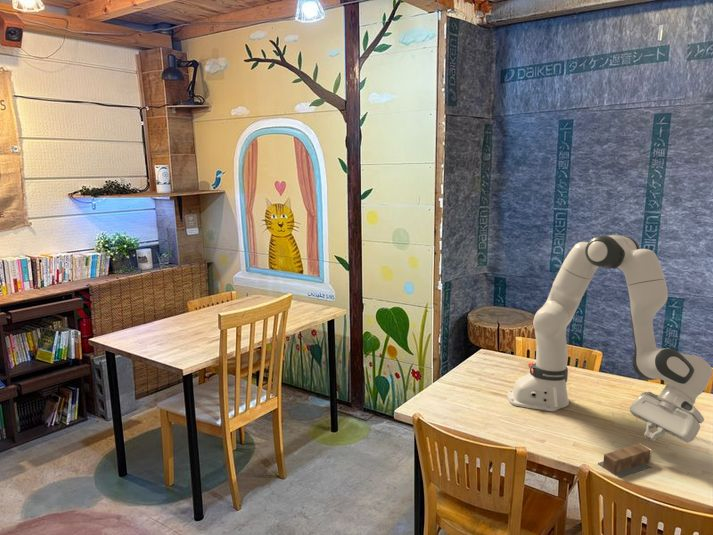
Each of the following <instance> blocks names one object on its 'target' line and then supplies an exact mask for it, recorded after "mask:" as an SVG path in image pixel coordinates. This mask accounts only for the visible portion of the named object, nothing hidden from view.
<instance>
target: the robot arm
mask: <svg viewBox="0 0 713 535" xmlns="http://www.w3.org/2000/svg"><path fill="white" fill-rule="evenodd" d="M661 265H662V264H661V263H660V260H659V258H658V256H657V254H656V253H655V251H653V250H651V249H648V248H641V247H640V245H639V243H638V242H637V241H636V240H635V239H633V238H632V237H630V236H627V235H626V236H625V235H619V234H611V235H598V236H595V237H593V238H592V239H590V240H589V241H580V242H577V243H576V244H575V245H574V246H573V247H571V250H570V251H569V253H568V254H567V256H566V257H565V259H564V260H563V263H562V264H561V266H560V268H559V270H558V271H557V274H556V276H555V278H554V280H553V282H552V287H551V288H550V291H549V294H548V296H547V299H546V302H544V304H543V305H542V306H541V307H540V308H539V309H538V310H537V311H536V312H535V315H534V317H533V322H532V324H533V325H532V326H533V328H534V334H535V342H536V348H535V349H536V355H535V363H534V362H533V361H529V362H527V366H528V368H529V372H528V373H526V374H525V375H523V376H521V377H519V378H516V381H515V383H514V385H513V386H514V387H513V388H510V389H509V390H508V391H507V400H508V402H509V403H510V404H511V405H512V406H515V407H521V408H526V409H527V408H528V409H534V410H539V411H547V412H556V411H558V410H559V409H563V408H566V407H568V406H569V405H570V401H569V396H568V391H567V390H568V388H567V382H568V377H569V370H568V369H569V368H568V353H569V352H568V351H569V350H568V349H569V347H568V344H567V334H566V333H567V332H566V331H567V327H568V325H569V324H570V323H571V322H572V321H573V318H574V317H575V314H576V311H577V309H578V308H579V305H580V303H581V301H582V298H583V296H584V295H585V293H586V291H587V289H588V286H589V285H590V283H591V281H592V279H593V278H594V275H595V274H596V272H597V270H598V268H602V269H620V270H621V271H622V272H623V275H624V278H625V281H626V287H627V291H628V297H629V304H630V306H629V307H630V310H629V311H630V322H631V330H632V331H631V332H632V338H633V343H634V344H633V346H634V347H633V348H634V351H633V357H632V367H633V369H634V372H635V374H636V375H638V376H639V377H641V379H643V380H646V381H647V380H648V381H655V380H663V381H664V382H665V383H666V385H665V386H664V388H663V389H662V390H661V392H660V393H659V395H658V394H655V393H653V392H651V391H644V392H641V394H639V396H638V397H637V398H636V400H634V402H632V403H631V405H630V406H629V412H630V413H631V414H632V416H634V417H636V418H638V419H640V420H642V421H643V422H646V424H645V425H646V426H645V427H646V429H645V432H643V437H645V438H647V439H649V440H650V441H652V442H655V441H656V440H657V438H660V437H662V436H664V435H665V434H666V433H667V434H669V435H671V436H674V437H675V438H677V439H679V440H681V441H683V442H685V443H688V444H689V443H691V442H693V441H694V440H695V438H696V437H697V435H698V434H699V431H700V429H701V424H702V423H703V422H705V417H704V416H703V414H702V413H701V412H700V411H699V410H698V408H696V406H695V405H694V404H695V403H696V399H698V397H699V396H700V395H701V394H703V392H704V390H706V388H707V386H708V384H709V383H710V381H711V379H712V377H713V368H712V366H711V364H710V363H709V362H708V361H707V360H706V359H704V358H702V357H701V356H699V355H695V354H686V353H682V352H681V351H677V350H676V349H673V348H658V347H657V345H656V339H655V330H654V324H653V323H654V318H655V316H656V314H657V313H658V312H659V311H660V309H661V308H663V307H664V306H665V304H666V303H667V300H668V298H669V296H668V286H667V281H666V278H665V273H664V270H663V267H662V266H661ZM655 428H657V431H655V432H652V430H654V429H655Z"/></svg>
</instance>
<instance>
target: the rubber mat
mask: <svg viewBox="0 0 713 535" xmlns="http://www.w3.org/2000/svg"><path fill="white" fill-rule="evenodd" d="M597 465H599V466H600V467H601V468H603V469H605V470H606V471H608V472H610V473H611V474H613V475H614V476H615V477H617V478H619V479H621V478H624V477H626V476H630V475H633V474H636V473H638V472H641V471H644V469H645V470H647V469H651V468H652V466H651V465H650V464H648V463H645V464H642V465H638V466H635V467H632V468H629V469H626V470H623V471H620V472H617V473H612V472H611V471H609V470H608V469H606V468H605V467H603V461H600V462H597Z"/></svg>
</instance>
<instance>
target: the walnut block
mask: <svg viewBox="0 0 713 535" xmlns="http://www.w3.org/2000/svg"><path fill="white" fill-rule="evenodd" d="M651 457H652V449H651V448H649V447H648V446H645V445H644V444H642V443H637V444H634V445H631V446H628V447H624V448H621V449H618V450H615V451H614V450H613V451H611V452H607V453H604V454H603V461H602V462H603V467H605V468H606V469H608V470H609V471H611V472H612V473H611V472H610V473H611V474H613V473H617V472H620V471H623V470H626V469H629V468H632V467H635V466H638V465H642V464H645V463H646V464H648V463H651ZM603 467H602V468H603ZM605 468H604V469H605ZM606 469H605V470H606ZM608 470H607V471H608ZM609 471H608V472H609Z"/></svg>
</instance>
